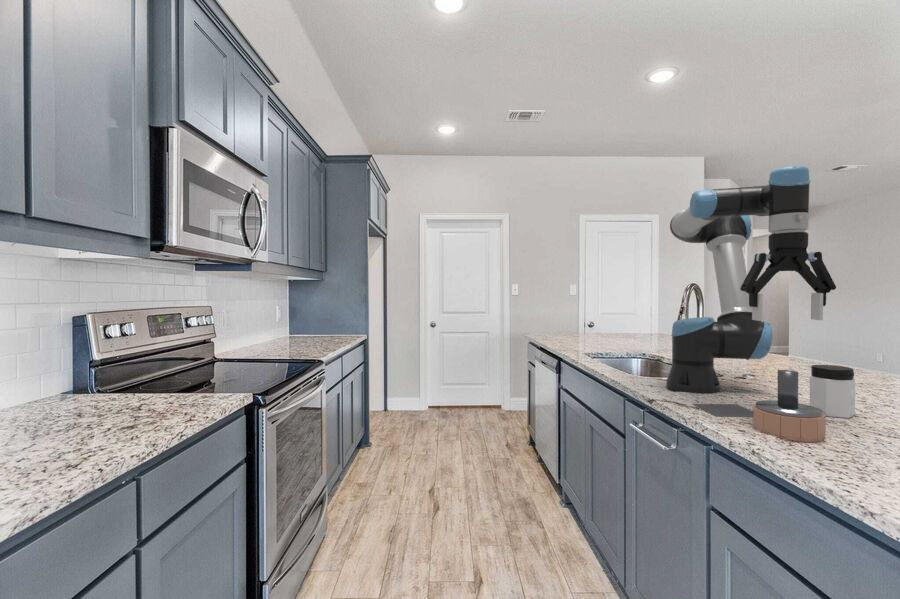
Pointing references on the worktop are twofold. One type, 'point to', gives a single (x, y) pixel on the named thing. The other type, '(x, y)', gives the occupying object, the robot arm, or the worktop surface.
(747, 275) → the robot arm
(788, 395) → the lid
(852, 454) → the worktop surface
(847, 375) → the jar
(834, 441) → the worktop surface
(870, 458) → the worktop surface
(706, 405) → the mat
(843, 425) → the worktop surface
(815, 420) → the bowl
